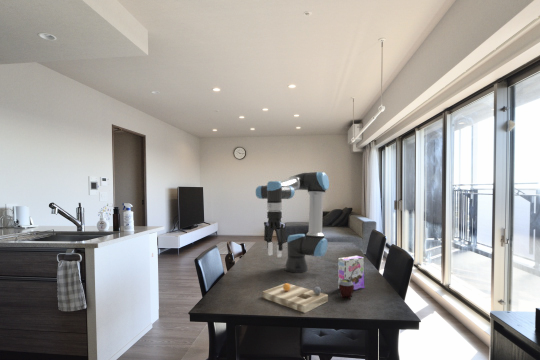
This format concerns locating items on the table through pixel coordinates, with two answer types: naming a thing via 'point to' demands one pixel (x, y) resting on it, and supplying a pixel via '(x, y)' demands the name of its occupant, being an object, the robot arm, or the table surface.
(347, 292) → the mate gourd
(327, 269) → the table surface
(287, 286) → the orange ball
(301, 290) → the deck
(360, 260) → the candy box
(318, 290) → the grey ball
